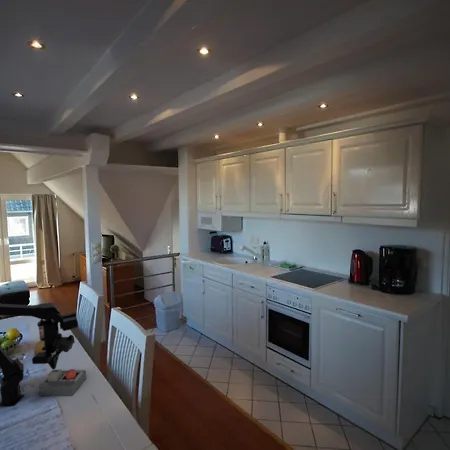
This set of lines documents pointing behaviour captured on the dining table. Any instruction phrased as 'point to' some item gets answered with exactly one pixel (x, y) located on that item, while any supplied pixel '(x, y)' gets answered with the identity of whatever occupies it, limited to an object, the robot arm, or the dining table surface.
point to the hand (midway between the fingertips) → (54, 368)
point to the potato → (39, 347)
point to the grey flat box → (62, 385)
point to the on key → (54, 375)
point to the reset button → (70, 374)
